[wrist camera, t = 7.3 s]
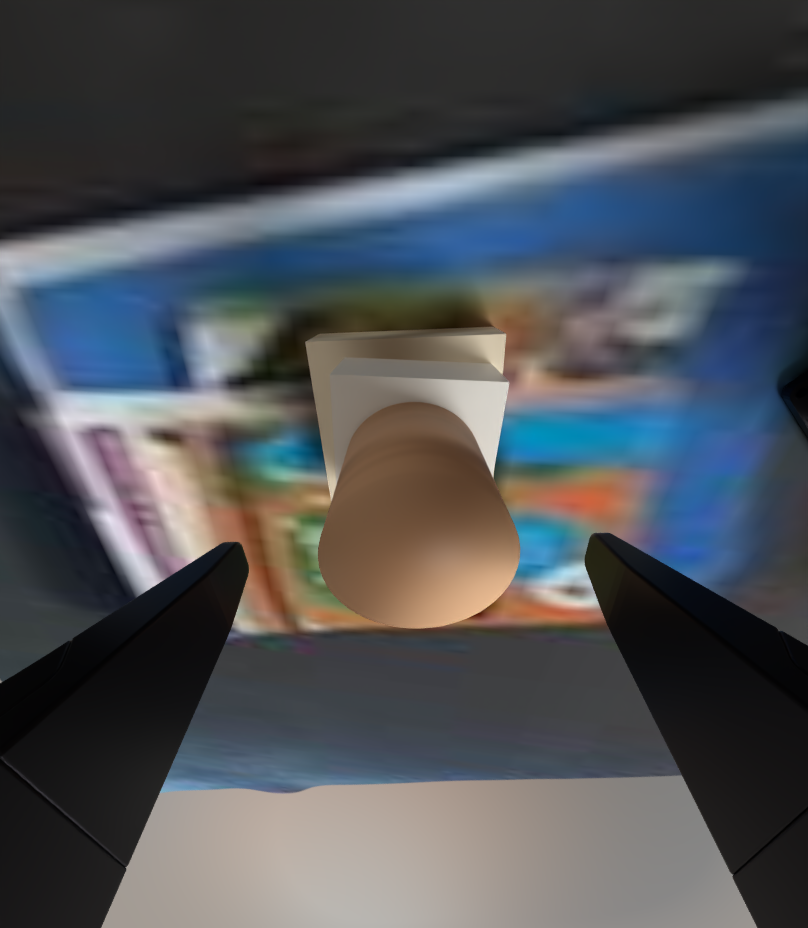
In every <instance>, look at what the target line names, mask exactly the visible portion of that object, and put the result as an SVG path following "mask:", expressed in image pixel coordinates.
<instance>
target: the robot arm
mask: <svg viewBox="0 0 808 928" xmlns="http://www.w3.org/2000/svg"><path fill="white" fill-rule="evenodd" d="M799 389H800V390H799ZM798 390H799V392H798V393H797V391H798ZM782 398H783V399H784V401H785V403H786V404H787V406H788V407H789V409H790V410H791V412H792V414H793V415H794V417H795V418H796V420H797V421H798V423H799V425H800V426H801V428H802V429H803V431H804V433H805V434H806V436H807V437H808V371H807V372H805V373H804V374H802V375H801V376H799V377H798V378H796V379H795V380H794V381H792V382H791V383H789V384H788V385H787V386H786V387H785V388H784V390H783V392H782ZM585 567H586V570H587V572H588V575H589V578H590V580H591V583H592V586H593V589H594V591H595V594H596V597H597V599H598V602H599V605H600V607H601V610H602V613H603V615H604V618H605V620H606V623H607V625H608V627H609V629H610V632H611V634H612V636H613V638H614V640H615V642H616V644H617V646H618V648H619V650H620V652H621V654H622V656H623V658H624V660H625V662H626V664H627V666H628V668H629V670H630V672H631V674H632V676H633V678H634V680H635V682H636V684H637V686H638V688H639V690H640V692H641V694H642V696H643V698H644V700H645V702H646V704H647V706H648V708H649V710H650V712H651V714H652V716H653V718H654V720H655V722H656V724H657V726H658V728H659V730H660V732H661V734H662V736H663V738H664V740H665V742H666V744H667V746H668V748H669V750H670V752H671V754H672V756H673V758H674V760H675V762H676V764H677V766H678V768H679V770H680V772H681V774H682V776H683V778H684V780H685V782H686V784H687V786H688V788H689V790H690V792H691V794H692V796H693V798H694V800H695V802H696V804H697V806H698V809H699V810H700V812H701V815H702V816H703V819H704V821H705V822H706V824H707V827H708V829H709V831H710V832H711V834H712V837H713V839H714V841H715V843H716V845H717V847H718V849H719V850H720V853H721V855H722V857H723V859H724V861H725V863H726V865H727V867H728V869H729V871H730V872H731V873H732V874H733V879H734V881H735V884H736V886H737V888H738V890H739V892H740V894H741V896H742V897H743V900H744V902H745V904H746V906H747V908H748V910H749V912H750V913H751V916H752V918H753V920H754V922H755V924H756V926H757V928H808V646H807V645H806V644H804V643H802V642H800V641H799V640H797V639H795V638H793V637H792V636H790V635H788V634H786V633H785V632H783V631H778V629H777V628H776V627H774V626H772V625H770V624H769V623H767V622H765V621H763V620H762V619H760V618H758V617H756V616H755V615H753V614H751V613H749V612H748V611H746V610H744V609H742V608H741V607H739V606H737V605H735V604H734V603H732V602H730V601H728V600H727V599H725V598H723V597H721V596H720V595H718V594H716V593H714V592H713V591H711V590H709V589H707V588H706V587H704V586H702V585H700V584H699V583H697V582H695V581H693V580H692V579H690V578H688V577H686V576H685V575H683V574H681V573H679V572H678V571H676V570H674V569H672V568H671V567H669V566H667V565H665V564H664V563H662V562H660V561H658V560H657V559H655V558H653V557H651V556H650V555H648V554H646V553H644V552H642V551H641V550H639V549H637V548H635V547H634V546H632V545H630V544H628V543H627V542H625V541H623V540H621V539H620V538H618V537H616V536H614V535H613V534H611V533H594V534H592V535H591V536H590V539H589V543H588V547H587V551H586V555H585ZM248 573H249V565H248V562H247V559H246V556H245V553H244V550H243V547H242V545H241V544H240V543H239V542H224V543H221V544H220V545H218V546H217V547H215V548H214V549H212V550H210V551H209V552H207V553H206V554H204V555H203V556H201V557H199V558H198V559H196V560H195V561H193V562H192V563H190V564H188V565H187V566H185V567H184V568H182V569H181V570H179V571H178V572H176V573H174V574H173V575H171V576H170V577H168V578H167V579H165V580H163V581H162V582H160V583H159V584H157V585H156V586H154V587H152V588H151V589H149V590H148V591H146V592H145V593H143V594H141V595H140V596H138V597H137V598H135V599H134V600H132V601H130V602H129V603H127V604H126V605H124V606H123V607H121V608H120V609H118V610H116V611H115V612H113V613H112V614H110V615H109V616H107V617H105V618H104V619H102V620H101V621H99V622H98V623H96V624H94V625H93V626H91V627H90V628H88V629H87V630H85V631H83V632H82V633H80V634H79V635H77V636H76V637H74V638H73V640H72V641H68V642H66V643H65V644H63V645H61V646H60V647H58V648H57V649H55V650H54V651H52V652H51V653H49V654H47V655H46V656H44V657H43V658H41V659H39V660H38V661H36V662H35V663H33V664H31V665H30V666H28V667H27V668H25V669H23V670H22V671H20V672H18V673H17V674H15V675H14V676H12V677H10V678H8V679H7V680H5V681H3V682H2V683H0V928H101V927H102V924H103V922H104V920H105V917H106V915H107V913H108V911H109V908H110V906H111V904H112V902H113V899H114V897H115V894H116V892H117V890H118V888H119V885H120V883H121V881H122V878H123V876H124V874H125V872H126V868H125V867H127V866H128V864H129V862H130V859H131V857H132V855H133V852H134V850H135V848H136V846H137V843H138V841H139V839H140V837H141V834H142V832H143V830H144V827H145V825H146V823H147V821H148V818H149V816H150V814H151V811H152V809H153V807H154V804H155V802H156V800H157V798H158V795H159V793H160V791H161V788H162V786H163V784H164V782H165V779H166V777H167V775H168V772H169V770H170V768H171V765H172V763H173V761H174V759H175V756H176V754H177V752H178V749H179V747H180V745H181V743H182V740H183V738H184V736H185V733H186V731H187V729H188V727H189V724H190V722H191V720H192V717H193V715H194V713H195V710H196V708H197V706H198V704H199V701H200V699H201V697H202V694H203V692H204V690H205V688H206V685H207V683H208V681H209V678H210V676H211V674H212V671H213V669H214V667H215V665H216V662H217V660H218V658H219V655H220V653H221V651H222V649H223V646H224V644H225V642H226V639H227V637H228V635H229V632H230V630H231V627H232V624H233V621H234V618H235V615H236V612H237V609H238V605H239V602H240V599H241V596H242V593H243V590H244V587H245V583H246V580H247V577H248Z"/></svg>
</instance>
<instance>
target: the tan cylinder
mask: <svg viewBox="0 0 808 928" xmlns="http://www.w3.org/2000/svg"><path fill="white" fill-rule="evenodd" d="M519 559H520V543H519V537H518V534H517V531H516V528H515V525H514V523H513V521H512V519H511V516H510V514H509V512H508V510H507V508H506V505H505V503H504V501H503V499H502V496H501V494H500V492H499V490H498V488H497V485H496V483H495V481H494V479H493V477H492V474H491V472H490V470H489V468H488V465H487V463H486V461H485V459H484V457H483V454H482V452H481V450H480V448H479V445H478V443H477V441H476V439H475V437H474V435H473V433H472V431H471V430H470V429H469V427H468V426H467V425H466V424H465V423H464V422H463V421H462V420H461V419H460V418H459V417H458V416H456V415H455V414H454V413H452V412H450V411H449V410H447V409H445V408H442V407H440V406H437V405H433V404H430V403H423V402H405V403H399V404H395V405H391V406H388V407H386V408H383V409H381V410H379V411H377V412H376V413H374V414H372V415H371V416H370V417H368V418H367V419H366V420H365V421H364V422H363V423H362V424H361V425H360V426H359V427H358V429H357V430H356V431H355V433H354V435H353V436H352V438H351V441H350V443H349V446H348V449H347V452H346V455H345V459H344V462H343V465H342V469H341V472H340V475H339V478H338V482H337V485H336V488H335V491H334V495H333V498H332V501H331V505H330V508H329V511H328V514H327V518H326V521H325V524H324V528H323V531H322V534H321V537H320V542H319V547H318V561H319V568H320V571H321V574H322V577H323V579H324V581H325V583H326V585H327V586H328V588H329V589H330V591H331V592H332V593H333V595H334V596H335V597H336V598H337V599H338V600H339V601H340V602H341V603H343V604H344V605H345V606H346V607H347V608H349V609H350V610H352V611H354V612H355V613H357V614H359V615H361V616H363V617H365V618H367V619H369V620H372V621H375V622H377V623H381V624H385V625H389V626H395V627H401V628H431V627H438V626H444V625H448V624H452V623H455V622H458V621H461V620H464V619H466V618H469V617H471V616H473V615H475V614H477V613H479V612H480V611H482V610H483V609H485V608H487V607H488V606H489V605H490V604H492V603H493V602H494V601H495V600H496V599H498V598H499V597H500V596H501V595H502V594H503V592H504V591H505V590H506V588H507V587H508V586H509V584H510V583H511V581H512V579H513V577H514V575H515V573H516V570H517V568H518V563H519Z"/></svg>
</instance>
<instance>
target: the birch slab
mask: <svg viewBox="0 0 808 928" xmlns="http://www.w3.org/2000/svg"><path fill="white" fill-rule="evenodd" d="M505 341H506V334H505V333H504V332H502V331H500V330H499V329H497V328H495V327H471V328H447V329H422V330H398V331H373V332H348V333H324V334H318V335H316V336H315V337H313V338H311V339H309V340H308V341H306V342H305V344H306V350H307V356H308V362H309V368H310V374H311V380H312V387H313V393H314V399H315V405H316V411H317V417H318V423H319V429H320V435H321V442H322V448H323V454H324V460H325V466H326V472H327V478H328V484H329V490H330V496H331V501H332V498H333V495H334V491H335V488H336V473H335V456H334V440H333V423H332V406H331V390H330V373H331V372H332V371H333V370H334V369H335V368H336V367H337V366H338V364H339V363H340V362H341V361H342V360H343V359H344V358H345V357H353V358H376V359H399V360H422V361H445V362H468V363H492V364H493V366H494V367H495V368H496V369H497V370H498V371H499V372H500V373H501V374H502V375H503V364H504V353H505ZM493 476H494V471H493Z"/></svg>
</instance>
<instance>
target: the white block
mask: <svg viewBox="0 0 808 928" xmlns="http://www.w3.org/2000/svg"><path fill="white" fill-rule="evenodd" d="M508 387H509V381H508V380H507V379H506V378H505V377H504V376H503V375H502V374H501V373H500V372H499V371H498V370H497V369H496V368H495V367H494V366H493V364H492V363H468V362H445V361H422V360H399V359H376V358H353V357H345V358H344V359H343V360H342V361H341V362H340V363H339V364H338V366H337V367H336V368H335V369H334V370H333V371H332V372H331V373H330V390H331V406H332V423H333V440H334V456H335V473H336V485H337V482H338V478H339V475H340V472H341V469H342V465H343V462H344V459H345V455H346V452H347V449H348V446H349V443H350V441H351V438H352V436H353V435H354V433H355V431H356V430H357V429H358V427H359V426H360V425H361V424H362V423H363V422H364V421H365V420H366V419H367V418H368V417H370V416H371V415H372V414H374V413H376V412H377V411H379V410H381V409H383V408H386V407H388V406H391V405H395V404H399V403H405V402H423V403H430V404H433V405H437V406H440V407H442V408H445V409H447V410H449V411H450V412H452V413H454V414H455V415H456V416H458V417H459V418H460V419H461V420H462V421H463V422H464V423H465V424H466V425H467V426H468V427H469V429H470V430H471V431H472V433H473V435H474V437H475V439H476V441H477V443H478V445H479V448H480V450H481V452H482V454H483V457H484V459H485V461H486V463H487V465H488V468H489V470H490V472H491V474H492V477H493V471H494V466H495V460H496V454H497V449H498V443H499V437H500V432H501V426H502V421H503V415H504V409H505V404H506V398H507V393H508Z"/></svg>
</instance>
